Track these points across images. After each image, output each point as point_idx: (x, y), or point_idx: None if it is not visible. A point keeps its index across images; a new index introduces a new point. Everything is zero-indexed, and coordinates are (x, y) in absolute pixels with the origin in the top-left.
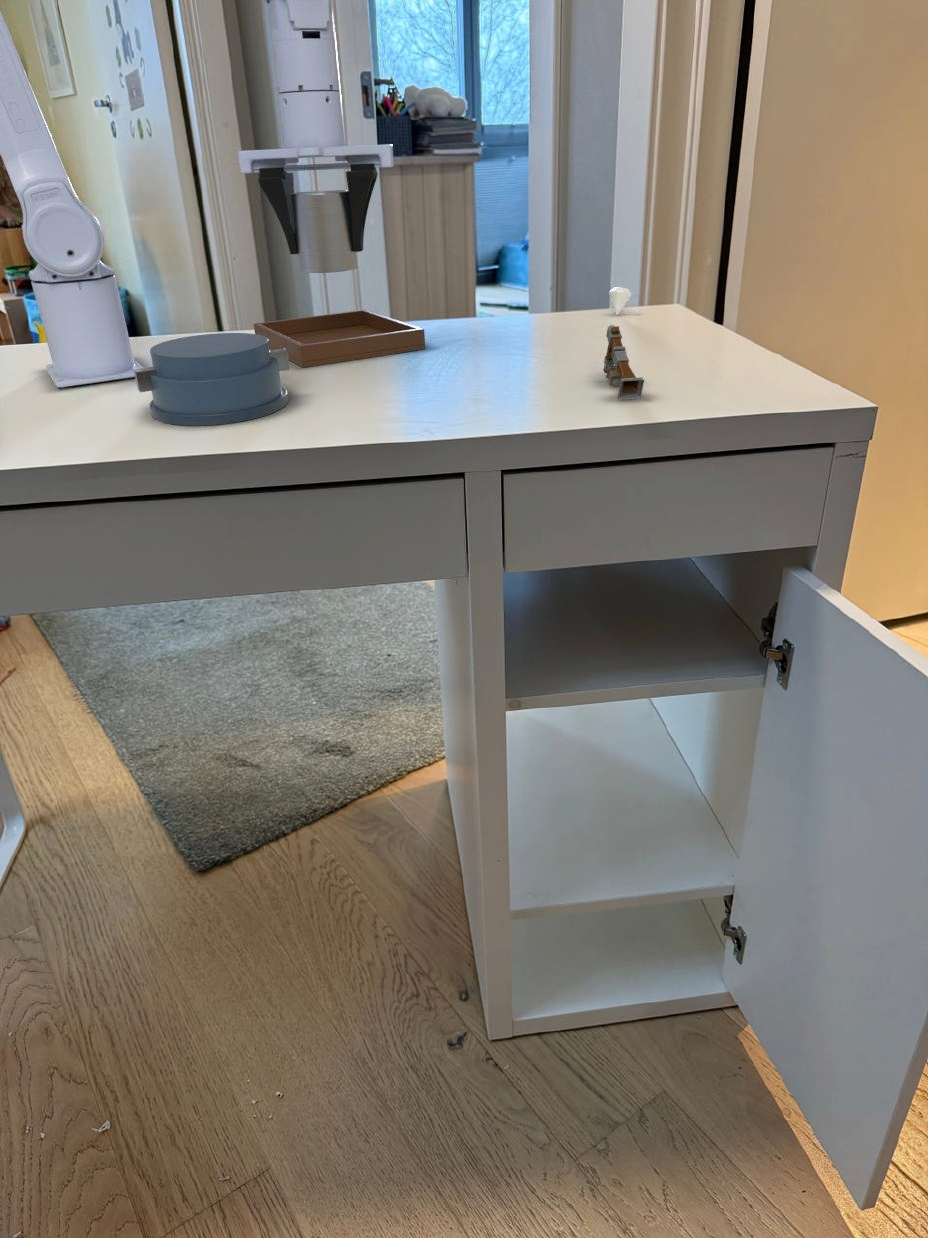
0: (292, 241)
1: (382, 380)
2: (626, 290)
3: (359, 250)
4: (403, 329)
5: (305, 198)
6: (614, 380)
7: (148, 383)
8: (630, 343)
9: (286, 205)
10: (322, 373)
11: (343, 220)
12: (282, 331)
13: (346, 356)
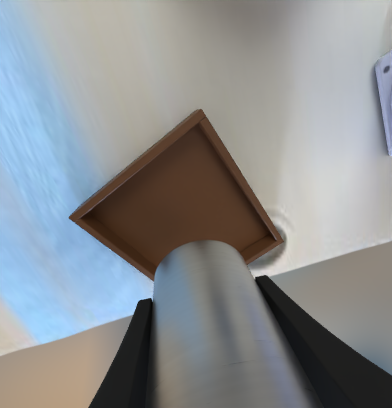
0: (271, 291)
1: (50, 13)
2: None
3: (139, 301)
4: (112, 238)
5: (275, 396)
6: None
7: None
8: None
9: (326, 366)
10: (161, 73)
11: (156, 349)
12: (253, 246)
13: (152, 146)
